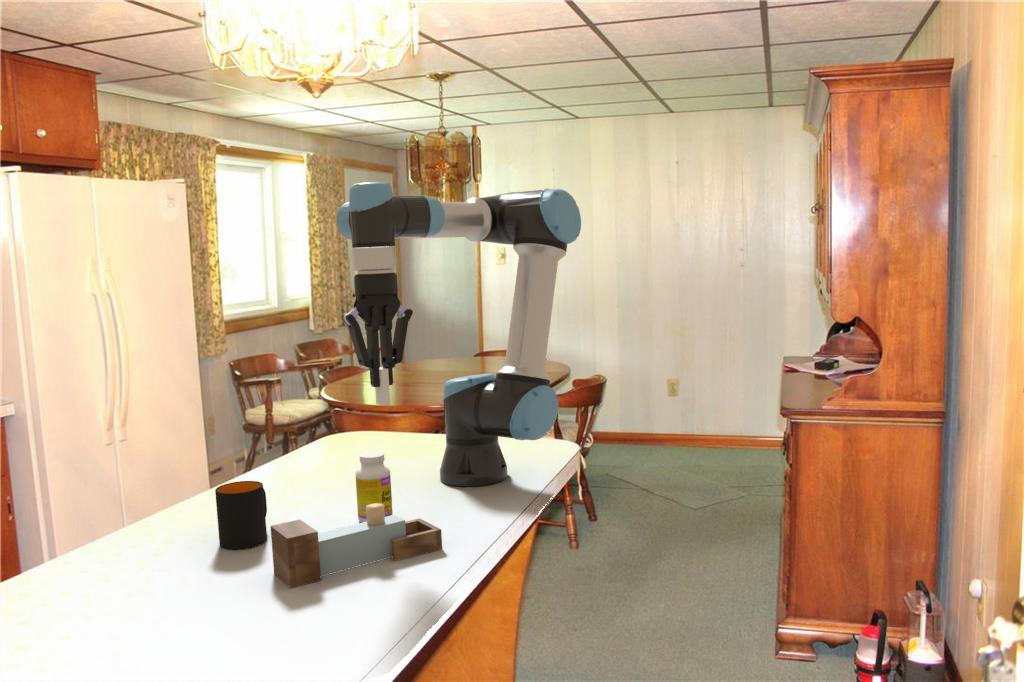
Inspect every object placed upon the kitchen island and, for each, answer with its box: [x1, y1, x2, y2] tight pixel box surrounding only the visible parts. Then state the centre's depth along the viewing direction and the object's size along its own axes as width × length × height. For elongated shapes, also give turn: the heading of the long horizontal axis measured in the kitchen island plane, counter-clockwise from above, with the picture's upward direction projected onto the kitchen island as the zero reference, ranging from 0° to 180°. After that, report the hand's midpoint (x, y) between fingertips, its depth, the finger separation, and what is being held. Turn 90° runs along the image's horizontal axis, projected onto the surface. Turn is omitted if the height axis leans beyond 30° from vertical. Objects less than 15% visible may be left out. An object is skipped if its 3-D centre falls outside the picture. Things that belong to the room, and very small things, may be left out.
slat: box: [318, 503, 406, 577], centre depth 146 cm, size 19×4×9 cm, turn 126°
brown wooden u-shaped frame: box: [391, 517, 443, 562], centre depth 152 cm, size 9×8×4 cm
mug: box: [214, 480, 268, 551], centre depth 160 cm, size 8×12×10 cm
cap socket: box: [270, 519, 322, 589], centre depth 141 cm, size 5×8×8 cm, turn 33°
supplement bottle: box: [355, 451, 393, 523], centre depth 169 cm, size 7×7×13 cm
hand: (383, 404), depth 156 cm, fingers closed
